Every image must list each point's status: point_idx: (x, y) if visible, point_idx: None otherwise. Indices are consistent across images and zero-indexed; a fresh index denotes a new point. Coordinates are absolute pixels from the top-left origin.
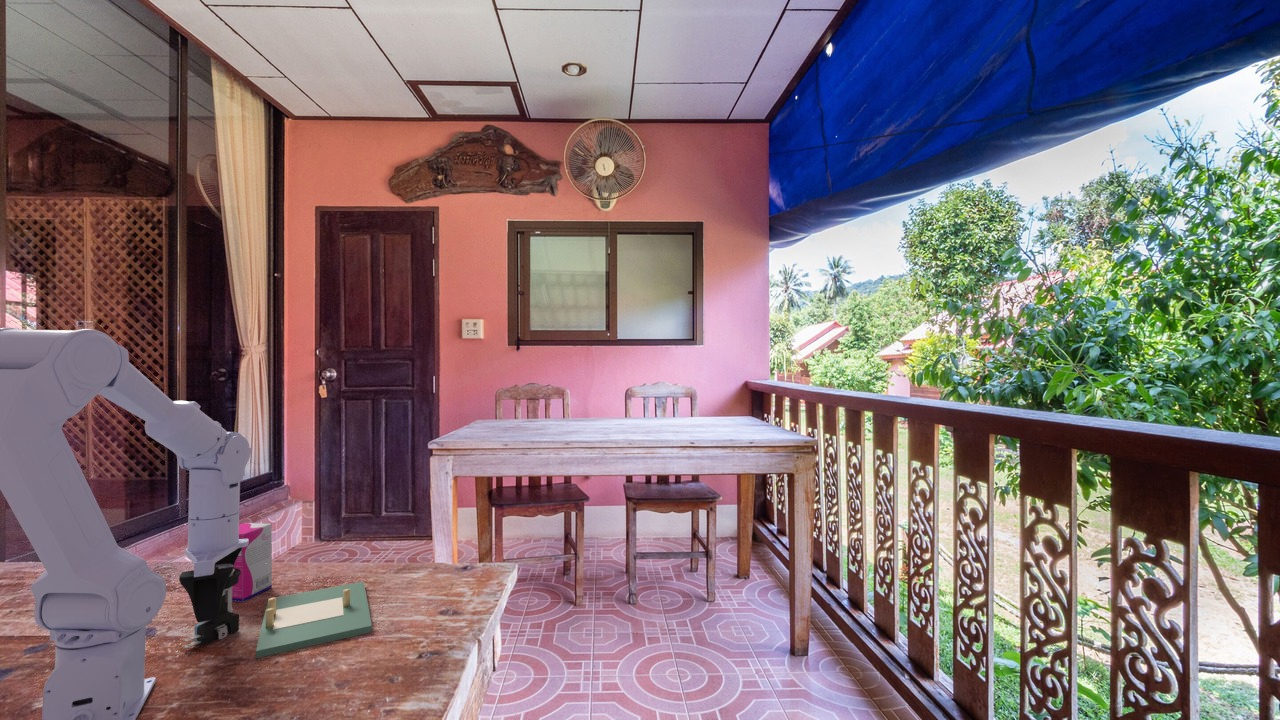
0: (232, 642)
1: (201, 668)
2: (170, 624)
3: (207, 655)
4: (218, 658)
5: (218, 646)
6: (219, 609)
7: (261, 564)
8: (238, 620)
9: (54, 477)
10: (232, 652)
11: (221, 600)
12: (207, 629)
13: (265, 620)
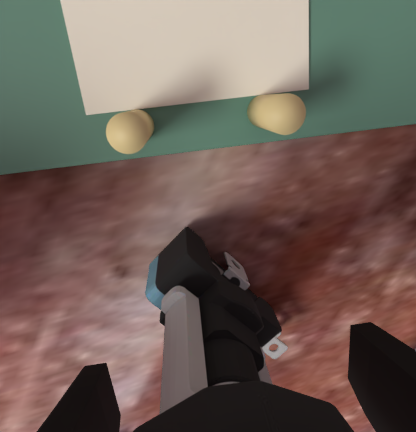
0: (270, 221)
1: (406, 257)
2: None
3: (329, 266)
4: (368, 231)
5: (280, 254)
6: (380, 341)
7: None
8: (190, 243)
9: None
10: (348, 201)
11: (407, 372)
12: (274, 321)
13: (188, 141)
